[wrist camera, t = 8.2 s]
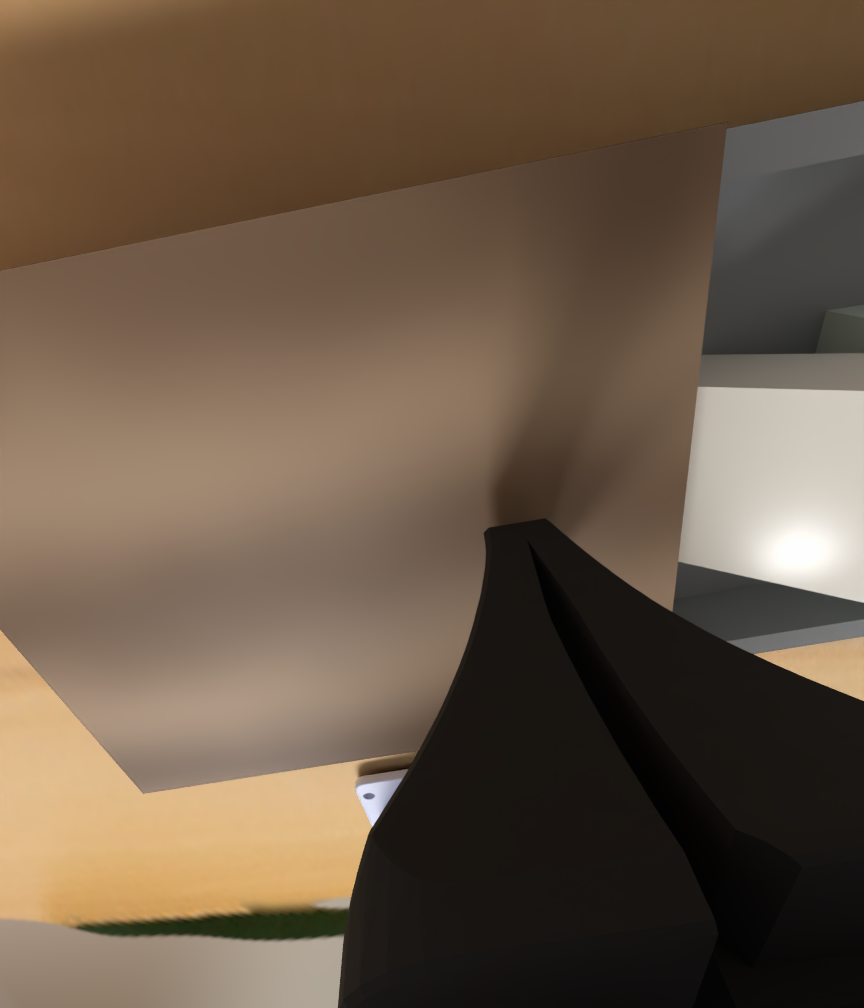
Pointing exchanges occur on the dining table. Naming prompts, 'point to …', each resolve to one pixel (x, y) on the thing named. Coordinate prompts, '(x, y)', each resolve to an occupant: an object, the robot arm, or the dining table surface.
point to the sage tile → (842, 331)
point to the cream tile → (779, 471)
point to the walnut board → (341, 446)
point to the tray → (781, 326)
